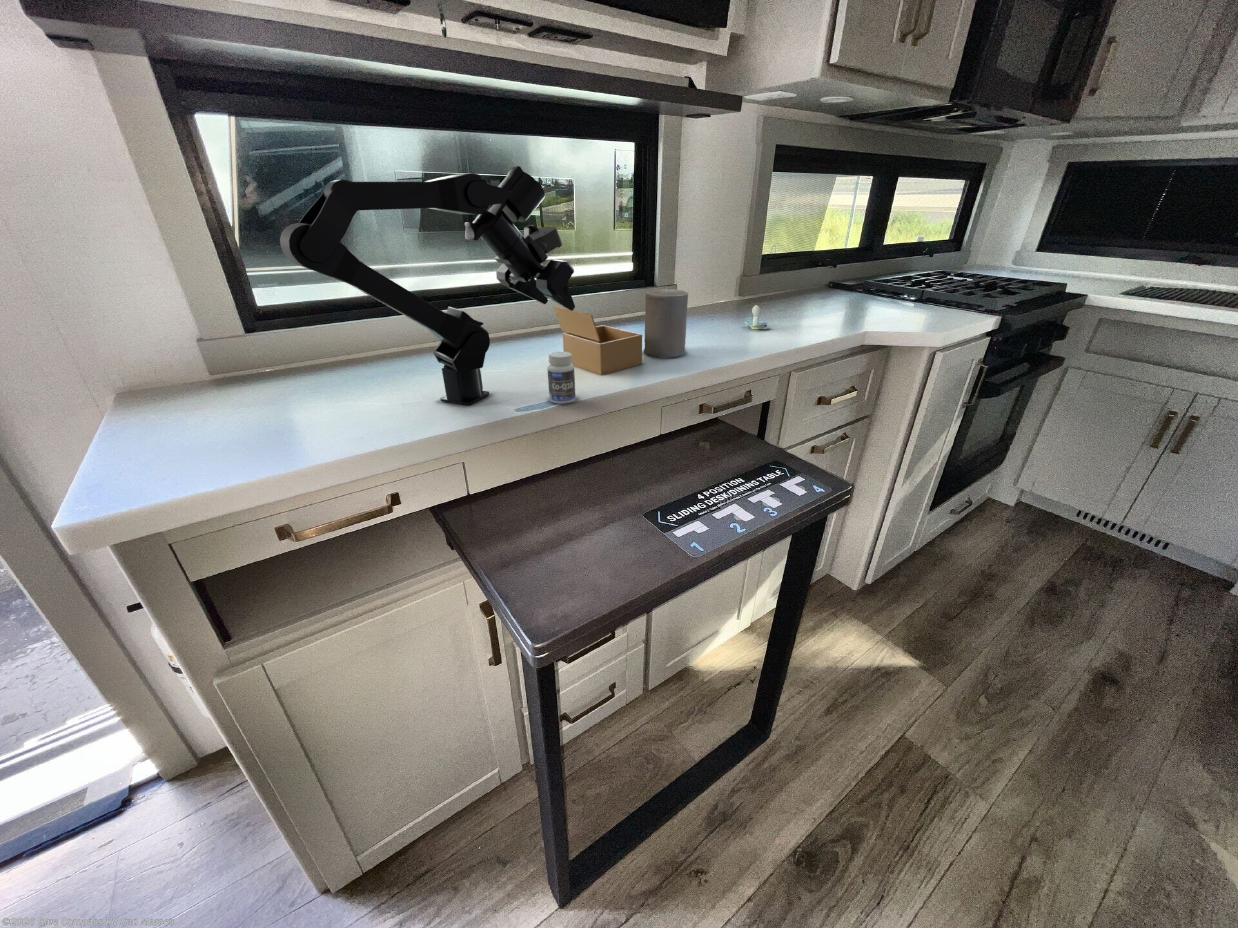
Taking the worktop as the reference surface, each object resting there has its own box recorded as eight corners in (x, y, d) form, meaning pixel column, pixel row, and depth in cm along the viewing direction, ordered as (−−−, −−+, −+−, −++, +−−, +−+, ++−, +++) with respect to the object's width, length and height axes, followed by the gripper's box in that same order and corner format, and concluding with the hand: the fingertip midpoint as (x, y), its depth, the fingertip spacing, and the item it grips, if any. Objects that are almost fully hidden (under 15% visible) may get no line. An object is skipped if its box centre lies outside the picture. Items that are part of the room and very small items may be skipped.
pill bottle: (551, 405, 89) (548, 358, 85) (547, 396, 93) (544, 351, 89) (578, 402, 90) (575, 356, 86) (573, 394, 94) (570, 349, 90)
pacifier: (759, 325, 145) (741, 326, 143) (762, 302, 142) (744, 303, 140) (774, 330, 139) (756, 331, 137) (778, 307, 136) (760, 308, 134)
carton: (600, 375, 104) (600, 344, 101) (564, 362, 113) (562, 333, 110) (641, 363, 111) (642, 334, 108) (604, 352, 120) (603, 325, 117)
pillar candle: (635, 352, 119) (636, 286, 113) (663, 345, 125) (665, 281, 118) (666, 361, 113) (668, 291, 106) (694, 352, 119) (698, 286, 112)
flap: (600, 340, 101) (599, 341, 101) (562, 330, 110) (561, 330, 110) (591, 314, 98) (590, 315, 97) (553, 305, 106) (552, 306, 106)
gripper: (565, 208, 82) (613, 279, 94) (508, 208, 95) (556, 270, 106) (524, 260, 81) (578, 325, 92) (471, 252, 94) (525, 311, 105)
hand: (559, 305), depth 99 cm, fingers open, 9 cm apart
